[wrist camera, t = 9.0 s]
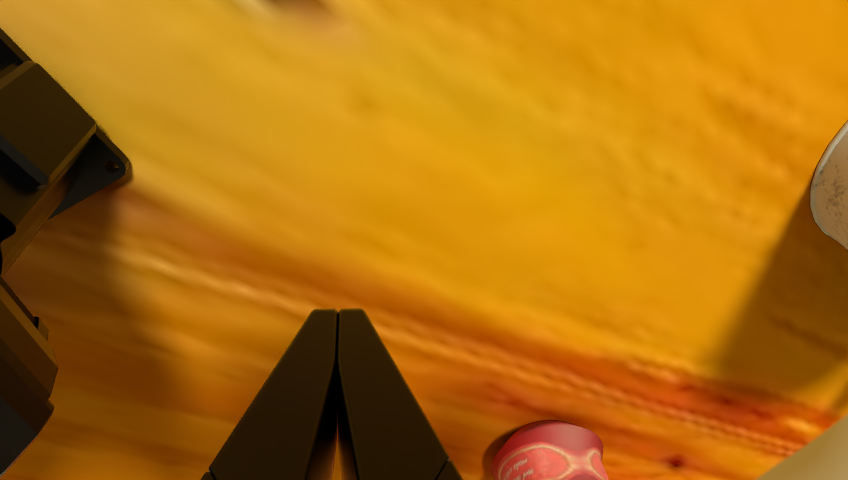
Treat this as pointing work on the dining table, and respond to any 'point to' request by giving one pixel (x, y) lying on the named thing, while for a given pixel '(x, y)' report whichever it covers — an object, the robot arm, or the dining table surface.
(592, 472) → the liquor
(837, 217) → the grey stubby cylinder
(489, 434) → the dining table surface
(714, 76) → the dining table surface
